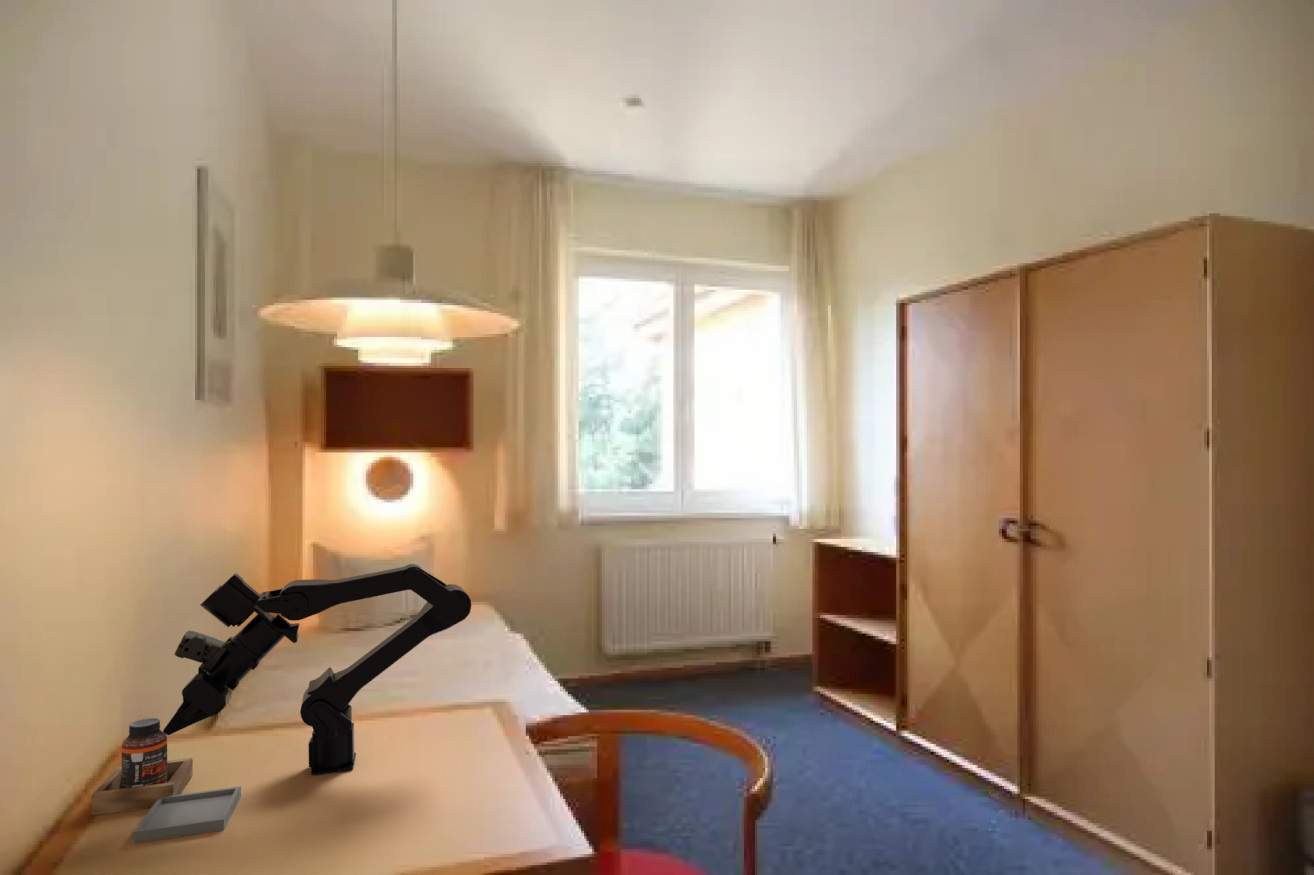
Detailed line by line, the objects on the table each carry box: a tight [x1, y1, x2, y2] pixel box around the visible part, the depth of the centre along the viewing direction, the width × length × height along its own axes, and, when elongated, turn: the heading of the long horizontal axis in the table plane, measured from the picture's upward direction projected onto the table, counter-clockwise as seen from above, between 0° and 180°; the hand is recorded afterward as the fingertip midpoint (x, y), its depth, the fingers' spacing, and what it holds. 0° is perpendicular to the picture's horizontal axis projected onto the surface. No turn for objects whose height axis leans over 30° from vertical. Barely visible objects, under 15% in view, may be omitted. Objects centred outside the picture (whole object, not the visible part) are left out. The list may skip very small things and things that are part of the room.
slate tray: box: [132, 785, 242, 844], centre depth 112 cm, size 11×11×2 cm
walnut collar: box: [91, 757, 194, 816], centre depth 120 cm, size 10×10×3 cm
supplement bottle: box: [121, 717, 168, 789], centre depth 120 cm, size 6×6×11 cm
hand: (172, 723), depth 122 cm, fingers open, 9 cm apart
